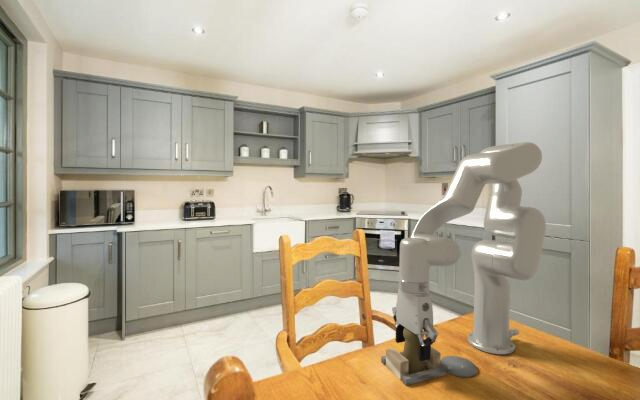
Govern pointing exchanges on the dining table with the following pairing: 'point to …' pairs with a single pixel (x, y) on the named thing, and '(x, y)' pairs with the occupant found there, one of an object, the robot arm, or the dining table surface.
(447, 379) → the dining table surface
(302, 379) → the dining table surface
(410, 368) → the pepper mill
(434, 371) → the grey and cream frame
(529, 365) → the dining table surface
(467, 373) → the coaster
